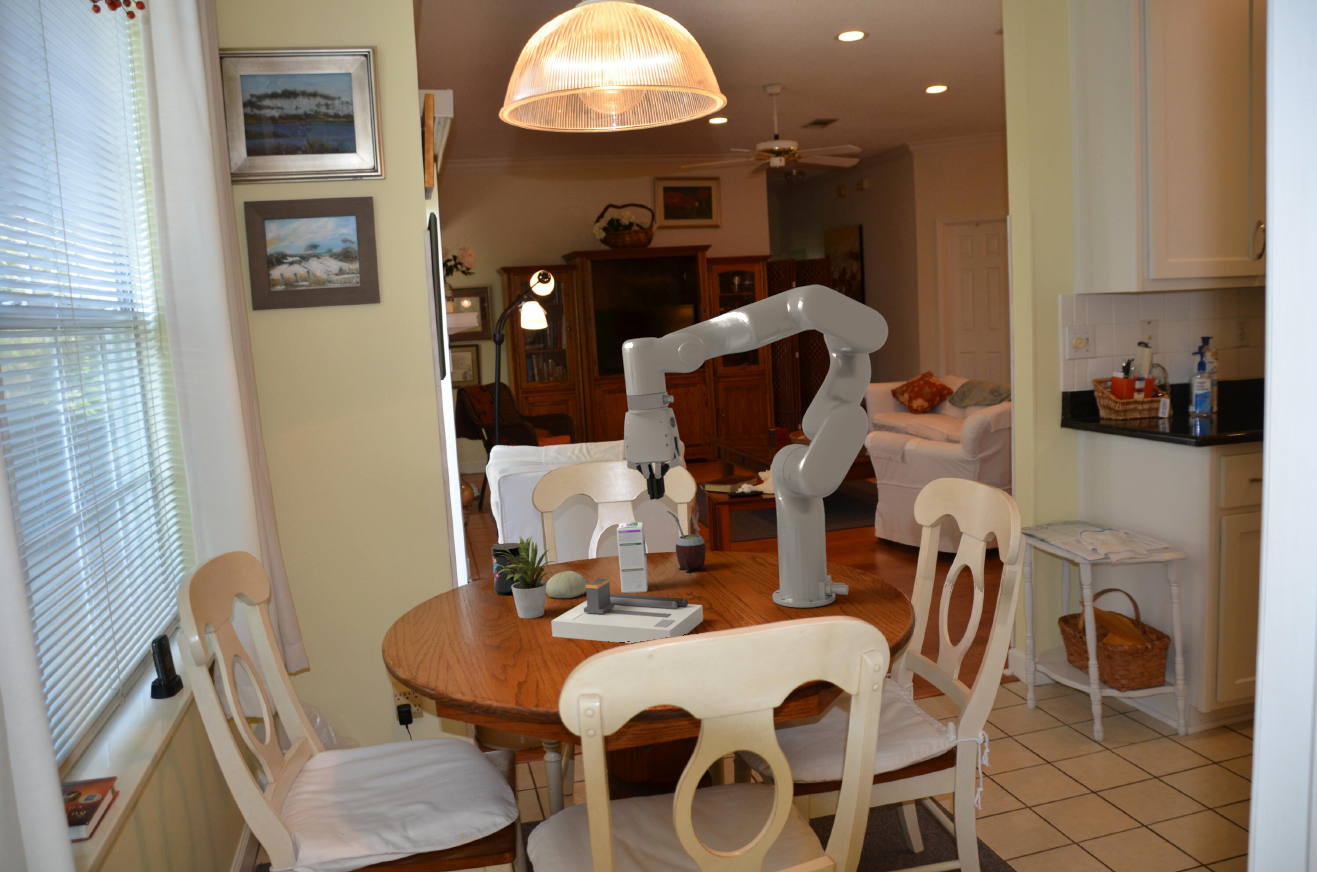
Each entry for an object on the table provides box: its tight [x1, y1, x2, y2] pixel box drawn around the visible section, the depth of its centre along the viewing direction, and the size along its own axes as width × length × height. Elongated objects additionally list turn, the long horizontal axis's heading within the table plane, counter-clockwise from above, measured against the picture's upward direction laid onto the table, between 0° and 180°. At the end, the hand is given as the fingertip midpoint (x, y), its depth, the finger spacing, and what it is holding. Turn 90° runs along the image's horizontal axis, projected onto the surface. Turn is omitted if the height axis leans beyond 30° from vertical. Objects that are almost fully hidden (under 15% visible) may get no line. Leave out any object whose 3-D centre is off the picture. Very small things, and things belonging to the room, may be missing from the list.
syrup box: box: [616, 521, 649, 594], centre depth 203 cm, size 6×6×14 cm
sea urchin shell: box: [546, 570, 588, 599], centre depth 203 cm, size 9×8×8 cm
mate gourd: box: [666, 510, 707, 574], centre depth 217 cm, size 8×8×15 cm
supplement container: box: [491, 542, 523, 596], centre depth 207 cm, size 7×7×10 cm
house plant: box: [492, 536, 556, 619], centre depth 189 cm, size 14×14×16 cm
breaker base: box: [550, 593, 704, 644], centre depth 176 cm, size 24×16×5 cm, turn 66°
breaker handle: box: [584, 577, 615, 614], centre depth 178 cm, size 4×5×5 cm
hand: (657, 497), depth 179 cm, fingers closed
